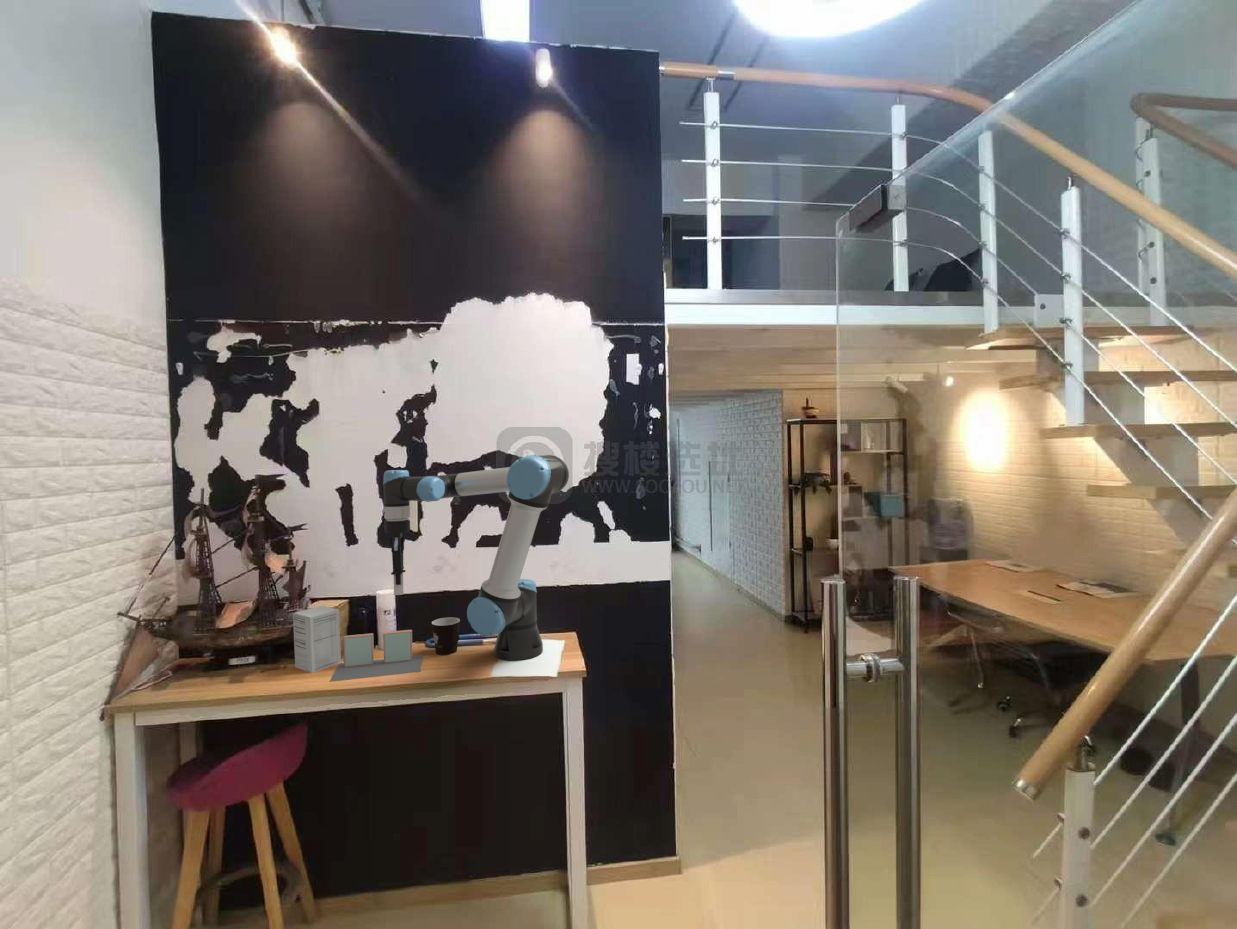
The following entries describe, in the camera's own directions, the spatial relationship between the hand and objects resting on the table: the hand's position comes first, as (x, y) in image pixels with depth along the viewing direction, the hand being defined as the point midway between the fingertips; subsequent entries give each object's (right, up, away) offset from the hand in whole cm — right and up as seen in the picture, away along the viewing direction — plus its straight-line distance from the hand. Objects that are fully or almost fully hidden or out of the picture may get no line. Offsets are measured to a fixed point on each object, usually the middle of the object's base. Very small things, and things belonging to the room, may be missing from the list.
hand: (398, 594), depth 184 cm
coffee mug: (+15, -19, 0) cm, 24 cm away
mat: (-2, -20, -11) cm, 23 cm away
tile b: (-8, -19, -9) cm, 23 cm away
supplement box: (-21, -20, -8) cm, 30 cm away
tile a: (+2, -19, -6) cm, 20 cm away
